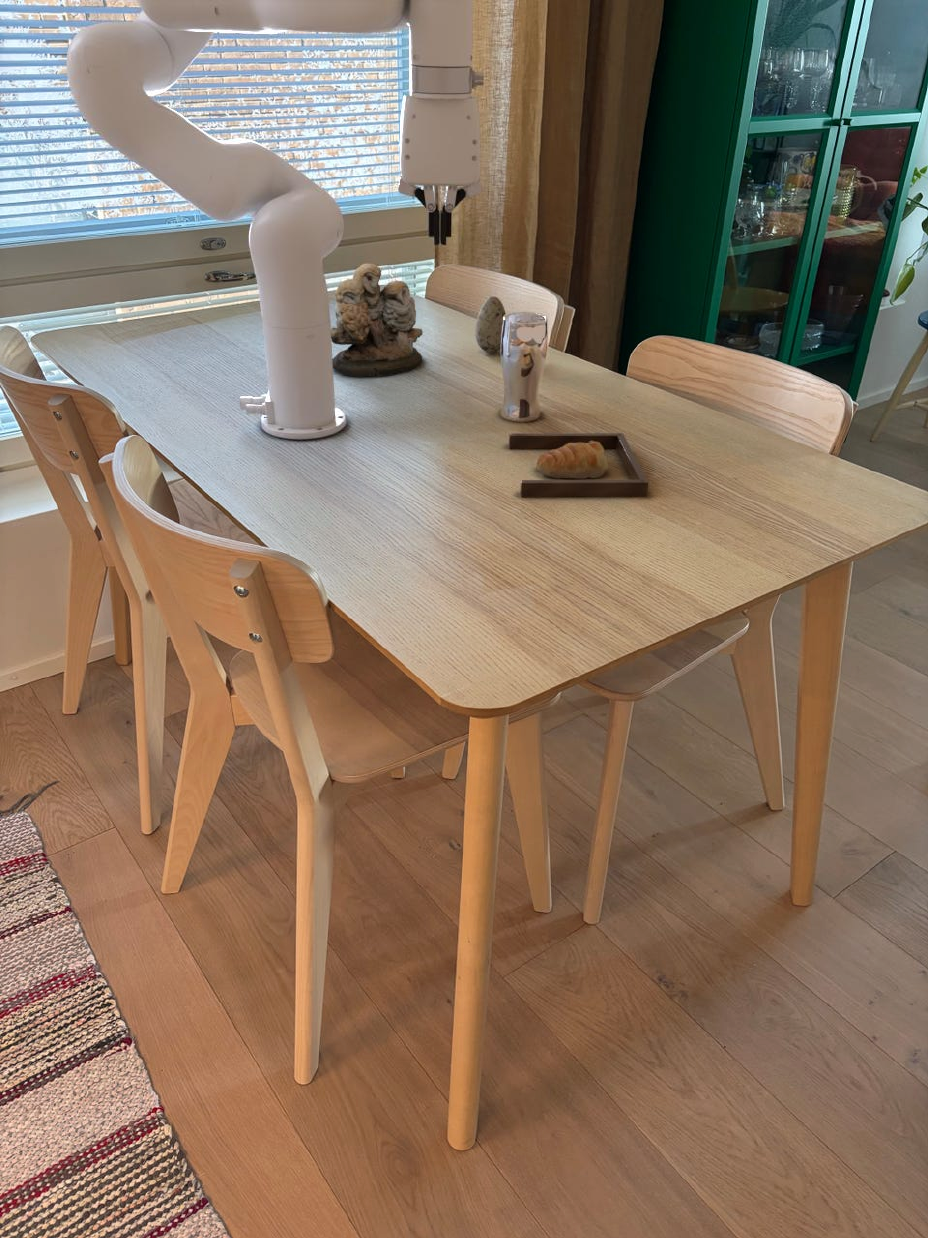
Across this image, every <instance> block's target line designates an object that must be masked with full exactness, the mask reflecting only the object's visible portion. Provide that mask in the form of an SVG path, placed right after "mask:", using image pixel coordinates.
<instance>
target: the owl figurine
mask: <svg viewBox="0 0 928 1238" xmlns="http://www.w3.org/2000/svg"><path fill="white" fill-rule="evenodd" d="M381 277H382V269H381V268H380V267H378V266H377V264H374V263H363V264H361V265H360V266H358V267H356V269H355V270H354V272H353V275H352V278H346V279H345V280H344V281H342V282H340V283H339V284H338V285H337V288H336V290H335V293H334V295H335V301H336V304H335V306H334V312H335V313H334V314H335V318H336V321H335V324H336V327H331V343H333V344H335V345H339V346H347V345H349V346H348V347H347V348H346V349H344V350H342V351H339V352H338V353H337V354H336V355H335V356H333V357H332V362H333V370H335V371H337V372H338V373H339V374H342V375H343V376H347V377H355V378H365V377H374V376H375V374H376V375H377V376H380V377H384V376H391V375H397V374H401V373H405V372H407V371H412V370H414V369H415V368H417V367H419V366H420V365H421V363H422V362H423V355H422V354H421V353H420V352H419V351H418V350H417V348H415V347H414V343H416V342H417V340H418V338H421V336H423V333H424V331H423V329H422V328H418V327H414V326H415V325H416V323H417V321H416V318H417V310H416V302H415V299H414V297H413V296H411V293H410V288H409V286H408V284H407V283H406V282H404V281H403V280H398V279H396V280H392V281H390V282H388V283H387V284H386V285H384V287H383V289H381V285H380V284H379V282H380V279H381ZM376 371H377V372H376Z"/></svg>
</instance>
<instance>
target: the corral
mask: <svg viewBox="0 0 928 1238" xmlns="http://www.w3.org/2000/svg"><path fill="white" fill-rule="evenodd" d="M590 441H594V442H599V443H600V444H601V445H602V447H603V448H604V450H605V449H607V450H609V449H611V450H613V449H616V451H617V454H618V455H619V458H620V459H621V461H622V464H623V465H624V467H625V469H626V471H627V474H628V476H629V478H630V479H521V480H520V492H519V493H520V497H521V498H593V497H594V498H597V497H598V498H599V497H600V498H602V497H604V498H605V497H610V498H611V497H612V498H613V497H614V498H615V497H616V498H617V497H623V498H625V497H647V496H648V491H649V481H648V479H647V476H646V475H645V473H644V471H643V469H642V467H641V465H640V463H639V461H638V459H637V457H636V455H635V454H634V452H633V449H632V448H631V446H630V444H629V442H628V440H627V438H626V436H625V434H624V433H622V432H614V433H613V432H608V433H607V432H604V433H603V432H593V433H592V432H591V433H590V432H588V433H587V432H584V433H583V432H581V433H579V432H577V433H576V432H573V433H571V432H570V433H569V432H567V433H565V432H564V433H563V432H562V433H561V432H560V433H557V432H556V433H554V432H551V433H550V432H549V433H548V432H547V433H546V432H545V433H544V432H543V433H537V432H536V433H532V432H529V433H526V432H525V433H524V432H523V433H520V432H519V433H517V432H515V433H514V432H513V433H512V432H511V433H510V432H509V434H508V449H509V450H556V449H558V448H560V447H563V446H564V445H565V444H568V443H589V442H590Z"/></svg>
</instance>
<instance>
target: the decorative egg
mask: <svg viewBox="0 0 928 1238" xmlns="http://www.w3.org/2000/svg"><path fill="white" fill-rule="evenodd" d="M505 314H507V313H506V309H505V307H504V305H503V303H502V301H501V300H500V299H499V298H498V297H497V296H494V295H492V296H489V297H487V298H486V299H485V301H484V302H483V303H482V305H481V307H480V309H479V312H478V314H477V318H476V322H475V327H474V328H475V329H474V334H475V335H474V336H475V340H476V343H477V345H478V347H479V348H480V349H481V350H483V351H484V352H486V353H490V354H494V353H497V352H499V351H501V333H502V325H503V316H504V315H505Z"/></svg>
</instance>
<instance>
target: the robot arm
mask: <svg viewBox="0 0 928 1238" xmlns="http://www.w3.org/2000/svg"><path fill="white" fill-rule="evenodd" d="M136 1H137V3H138V5H139V7H140V9H141V10H140V12H139V14H138V15H137V16H136V18H134V20H133V21H107V22H106V21H105V22H99V23H94V24H92V25H88V26H87V27H85V28H83V29H81V30H80V31H79V32H78V33H76V35H74V37H73V38H72V40H71V42H70V43H69V45H68V49H67V52H66V65H65V67H66V76H67V82H68V86H69V89H70V92H71V95H72V97H73V99H74V100H73V101H74V102H75V104H76V107H77V108H78V110H79V112H80V114H81V115H82V117H83V118H84V121H86V122H87V124H88V125H89V126H90V128H91V129H92V130H93V131H94V132H95V133H96V134H97V135H98V136H99V137H100V138H101V139H102V140H104V141H105V142H106V143H107V144H108V145H109V146H111V147H112V148H113V149H114V150H116V151H117V152H119V153H120V154H121V155H122V156H124V157H126V158H127V159H128V160H130V161H132V162H133V163H134V164H136V165H137V166H139V167H140V168H141V169H143V170H144V171H146V172H147V173H148V174H150V175H151V176H152V177H154V178H155V179H156V180H157V181H159V182H160V183H162V184H163V185H164V186H166V187H167V188H168V189H170V190H171V191H172V192H174V193H175V194H176V195H178V196H179V197H181V198H182V199H184V200H185V201H186V202H187V203H189V204H190V205H192V206H193V207H194V208H196V209H197V210H199V211H200V212H201V213H202V214H204V215H205V216H207V217H208V218H210V219H212V220H214V221H216V222H218V223H219V222H220V223H231V222H235V221H239V220H241V219H244V218H246V217H247V216H248V217H250V218H251V219H252V221H251V223H250V227H249V233H248V245H249V246H248V247H249V252H250V258H251V262H252V265H253V270H254V275H255V278H256V284H257V289H258V298H259V304H260V305H259V307H260V316H261V317H260V318H261V322H262V334H263V346H264V354H265V355H264V356H265V365H266V376H267V387H268V391H267V394H261V395H260V397H259V396H257V397H256V396H255V397H253V396H240V397H239V407H240V410H241V411H245V413H246V415H257V414H258V415H259V414H260V415H261V414H262V415H261V416H260V426H261V429H262V430H263V431H264V432H266V433H267V434H268V435H270V436H273V437H276V438H280V439H287V440H315V439H320V438H325V437H329V436H332V435H335V434H337V433H339V432H340V431H342V430H343V429H344V428H345V427H346V426H347V415H346V414H345V412H344V411H343V410H342V409H340V408H338V407H336V401H335V386H334V385H335V381H334V380H335V379H334V369H333V362H332V359H333V345H332V341H331V340H332V339H331V329H332V325H331V314H330V312H331V311H330V299H329V291H328V285H327V281H326V276H325V273H324V267H323V266H324V265H323V260H324V258H326V257H327V256H329V255H330V254H331V253H332V252H334V250H335V249H336V248H337V247H338V246H339V244H340V242H341V241H342V238H343V236H344V231H345V221H344V216H343V213H342V210H341V208H340V206H339V204H338V203H337V201H336V200H335V199H334V197H333V196H332V195H330V193H329V192H327V191H326V189H324V188H323V187H321V186H320V185H319V184H318V183H316V182H315V181H314V180H312V179H311V178H309V177H308V176H307V175H305V174H304V173H302V172H301V171H300V170H299V169H297V168H296V167H294V165H292V164H291V163H289V162H288V161H286V160H285V159H284V158H282V156H280V155H278V154H277V153H276V152H274V151H272V150H271V149H269V148H268V147H266V146H265V145H263V144H261V143H259V142H257V141H254V140H251V139H248V138H233V139H228V140H224V141H223V140H218V139H216V138H215V137H213V136H212V135H210V134H208V133H206V132H205V131H203V130H202V129H201V128H199V127H198V126H196V125H195V124H194V123H192V122H191V121H190V120H189V119H187V118H186V117H185V116H183V115H182V114H180V113H179V112H177V111H176V110H174V109H173V108H171V107H168V106H167V105H165V104H162V103H161V102H160V101H157V100H156V99H155V98H153V97H151V96H155V95H158V94H162V93H164V92H166V91H167V90H169V89H170V88H171V87H172V86H173V85H175V84H176V82H178V80H179V79H180V78H181V77H182V76H183V74H184V73H185V72H186V71H187V70H188V68H189V67H190V66H191V64H192V63H193V62H194V61H195V59H197V57H198V56H199V54H200V53H202V51H203V50H204V48H205V47H206V46H207V44H208V43H209V42H210V40H212V38H213V37H214V35H215V34H216V33H217V32H218V33H240V34H267V35H268V34H269V35H275V34H278V33H283V32H306V33H334V34H337V33H338V34H358V35H360V34H361V35H365V34H367V35H368V34H369V35H370V34H385V33H393V32H399V31H406V30H408V32H409V33H408V34H409V35H408V41H409V45H408V46H409V48H408V51H409V94H404V95H403V99H402V105H401V113H400V126H399V127H400V129H399V132H400V133H399V173H400V177H399V182H398V186H397V190H398V193H399V194H401V195H404V196H408V197H412V198H415V199H417V200H418V202H420V204H421V205H422V206H423V207H424V208H425V209H426V211H427V213H428V214H427V215H428V216H427V219H428V220H427V222H428V223H427V224H428V226H427V227H428V229H427V230H428V231H427V233H428V238H433V245H434V246H439V245H442V246H447V238H452V224H453V223H452V222H453V221H452V219H453V218H452V216H453V215H452V213H453V212H454V210H455V209H456V208H457V206H458V205H459V204H460V203H461V202H463V200H464V199H467V198H471V197H476V196H479V195H481V194H482V192H483V188H482V182H481V169H482V149H481V148H482V146H481V145H482V144H481V143H482V141H481V140H482V139H481V125H480V110H479V108H480V107H479V102H478V96H476V95H472V93H473V89H475V88H478V87H479V86H480V87H484V85H485V83H484V82H485V75H484V73H483V72H481V73H480V72H478V71H475V69H473V43H474V42H473V39H474V38H473V37H474V36H473V35H474V33H473V32H474V0H136ZM434 187H446V188H445V194H444V202H443V203H442V204H441V209H439V205H438V203H437V202H436V198H435V191H434Z"/></svg>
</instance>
